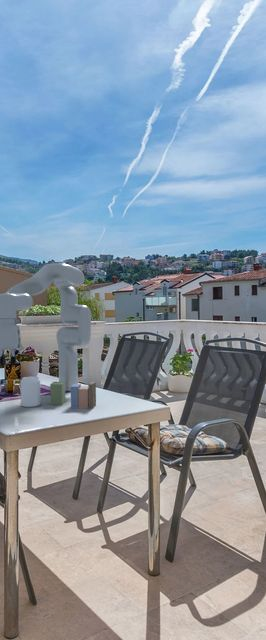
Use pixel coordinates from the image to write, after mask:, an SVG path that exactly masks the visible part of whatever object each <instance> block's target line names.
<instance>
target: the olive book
mask: <svg viewBox="0 0 266 640" xmlns="http://www.w3.org/2000/svg"><path fill="white" fill-rule="evenodd" d="M49 389H50V394H49V395H50V406H63V405H64V404H65V403H66V391H65V382H59V381H53V382H52V383H50V388H49Z"/></svg>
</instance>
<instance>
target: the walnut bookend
mask: <svg viewBox="0 0 266 640" xmlns="http://www.w3.org/2000/svg"><path fill="white" fill-rule="evenodd" d="M87 385H88V386H87V387H88V399H89V408H88V409H94V408H96V406H97V381H91V382H89V383H88V384H87Z"/></svg>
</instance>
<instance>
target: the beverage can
mask: <svg viewBox="0 0 266 640" xmlns="http://www.w3.org/2000/svg"><path fill="white" fill-rule="evenodd" d="M20 405H21V406H22V407H24V408H35V407H39V406H40V405H41V379H40V377H39V376H24V377H21V380H20Z"/></svg>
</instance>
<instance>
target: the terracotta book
mask: <svg viewBox="0 0 266 640" xmlns="http://www.w3.org/2000/svg"><path fill="white" fill-rule="evenodd" d="M77 409H90V408H89V399H88V386H82V385H81V387H80V388H79V389H78V408H77Z"/></svg>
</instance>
